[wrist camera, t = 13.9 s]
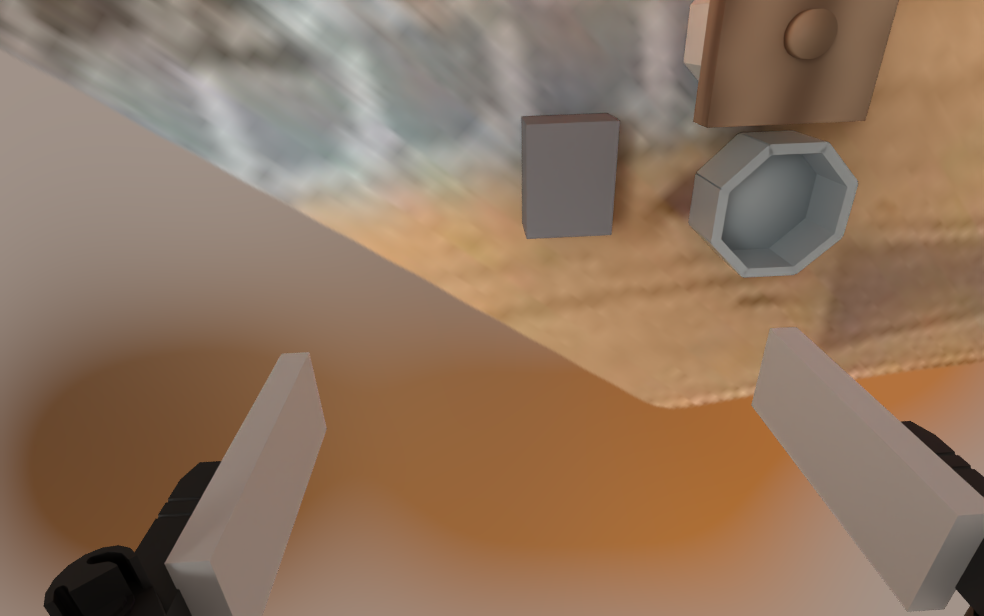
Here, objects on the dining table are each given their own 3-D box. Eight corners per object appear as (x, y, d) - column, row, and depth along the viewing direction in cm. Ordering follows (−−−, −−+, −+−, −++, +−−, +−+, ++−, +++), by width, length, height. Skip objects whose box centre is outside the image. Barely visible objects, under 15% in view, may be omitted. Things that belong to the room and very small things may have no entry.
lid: (693, 121, 39) (712, 130, 36) (718, -62, 34) (743, -71, 31) (842, 115, 39) (875, 123, 36) (889, -68, 34) (932, -77, 31)
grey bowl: (683, 256, 50) (704, 279, 45) (701, 134, 45) (727, 146, 40) (800, 251, 50) (832, 273, 46) (831, 128, 45) (871, 139, 40)
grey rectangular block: (522, 223, 48) (526, 238, 44) (521, 116, 43) (526, 124, 40) (600, 219, 48) (611, 234, 44) (607, 112, 44) (620, 120, 40)
